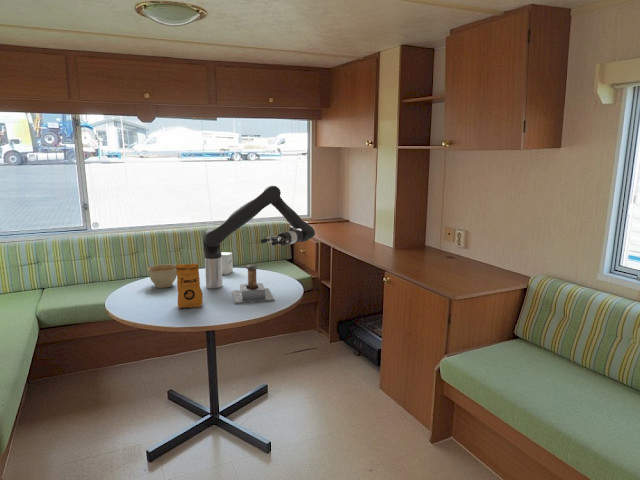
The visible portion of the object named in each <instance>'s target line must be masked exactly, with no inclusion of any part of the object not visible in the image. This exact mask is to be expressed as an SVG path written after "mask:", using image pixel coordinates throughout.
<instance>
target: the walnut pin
mask: <svg viewBox="0 0 640 480" xmlns="http://www.w3.org/2000/svg"><path fill="white" fill-rule="evenodd" d="M246 269H247V284H248V289H254V288H257V283H258V282H257V270H258V265H257V264H247V265H246Z"/></svg>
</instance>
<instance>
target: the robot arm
mask: <svg viewBox="0 0 640 480" xmlns="http://www.w3.org/2000/svg"><path fill="white" fill-rule="evenodd" d="M270 205H272V206H273V207H274V208H275V209H276V210H277V211H278V212H279V213H280V214H281V215H282V217H283V218H284V219H285V220H286V221H287V222H288V224H289V225H290V226H291V227H292V228H293V229H294V230H289V231H288V230H287V231H282V232H279V233H278V234H277V235H275V236H273V235H270V236H269V235H268V236H264V237H263V238H261V239H260V243H261V244H267V243H270V244H271V245H272V246H276V245H278V246H279V245H280V246H289V245H292V244H294V243H295V244H296V243H305V242H308V241H309V240H310V239H312V238H314V237H315V236H316V232H315V231H316V230H315V229H314V227H312V226H311V225H310V224H309V223H307V222H306V221H304V220H303V219H302V218H301V217H300V215H299V214H298V213H297V212H296V211H295V210H294V209H292V208H291V206H289V205H288V204H287V203H286V202H285V201H284V199H283V198H282V197H281V190H280V188H279V187H278V186H276V185H269V186H267V187H265V188H264V190H263V192H261V193H260V194H259V195H257V197H255V198H253V199H252V200H250V201H248V202H246V203H245V204H243V205H241V206H240V207H238V208H237V209H236V210H235V211H233V212H232V213H231V214H230V216H228V218H226V220H225V221H224V222H223V223H222V224H220V225H219V226H218V227H216V228H207V229H206V230H205V231H204V232H203V235H202V237H203V239H202V241H203V252H204V253H203V254H204V266H205V270H204V272H205V288H206V289H220V288H222V287H223V282H224V281H223V274H222V257H221V253H222V250H221V243H222V242H223V241H225V240H226V239H228V237H229V236H230V235H231V234H232V233H235V232H236V231H237V230H239V229H240V228H242V227H243V226H244V225H246V224H247V223H249V221H251V220H252V219H254V217H256V216H257V215H258V214H259V213H260V212H261V211H263V209H265V208H267V207H268V206H270ZM299 229H300V230H299Z"/></svg>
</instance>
